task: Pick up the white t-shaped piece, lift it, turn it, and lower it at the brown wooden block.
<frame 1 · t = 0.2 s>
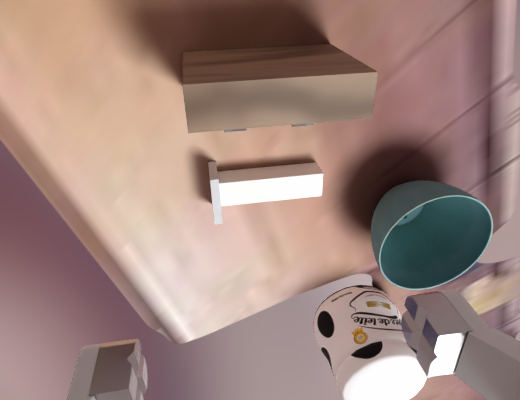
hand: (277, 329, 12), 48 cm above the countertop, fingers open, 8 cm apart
milk container: (348, 308, 84), on the countertop
brown wooden block: (258, 66, 55), on the countertop
white t-shaped piece: (267, 177, 64), on the countertop
teal bowl: (399, 204, 71), on the countertop
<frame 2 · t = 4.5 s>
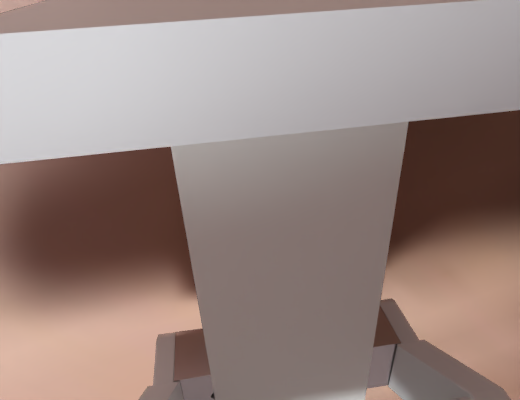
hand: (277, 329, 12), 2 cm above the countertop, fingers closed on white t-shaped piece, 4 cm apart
white t-shaped piece: (267, 286, 14), on the countertop, touching gripper
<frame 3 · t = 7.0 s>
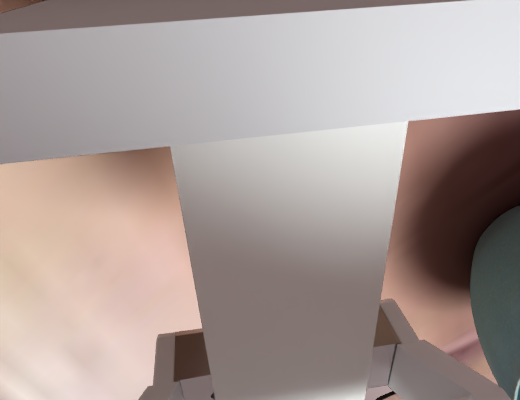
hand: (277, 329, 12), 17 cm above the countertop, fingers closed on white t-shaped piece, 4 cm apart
white t-shaped piece: (267, 286, 14), point 15 cm above the countertop, touching gripper
teal bowl: (515, 239, 36), on the countertop
when the fingers open (3 cm above the countertop, at t = 9.7 s): white t-shaped piece drops 2 cm, on the countertop.
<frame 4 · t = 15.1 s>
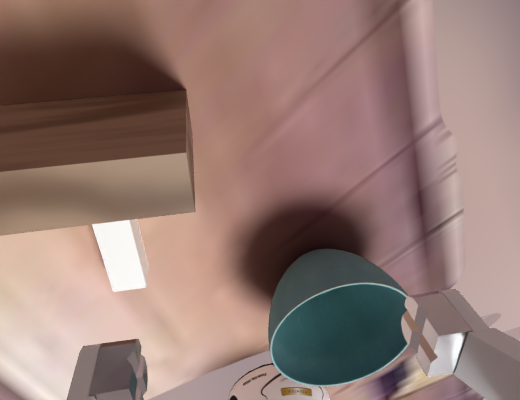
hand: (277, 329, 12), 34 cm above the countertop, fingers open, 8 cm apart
milk container: (273, 383, 70), on the countertop
brown wooden block: (93, 121, 42), on the countertop
white t-shaped piece: (120, 218, 48), on the countertop
teal bowl: (316, 271, 58), on the countertop
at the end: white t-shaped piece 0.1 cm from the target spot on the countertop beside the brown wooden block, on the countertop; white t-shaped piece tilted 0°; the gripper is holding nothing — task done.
